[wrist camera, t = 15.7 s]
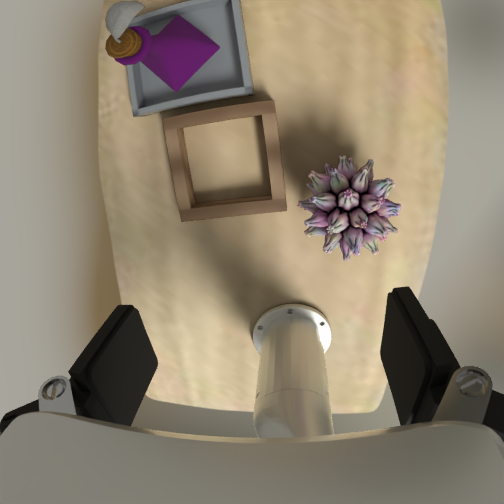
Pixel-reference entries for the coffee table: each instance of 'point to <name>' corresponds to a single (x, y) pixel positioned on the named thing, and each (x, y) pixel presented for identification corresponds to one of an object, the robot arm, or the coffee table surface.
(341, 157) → the flower
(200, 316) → the coffee table surface
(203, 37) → the perfume bottle
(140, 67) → the tray
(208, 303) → the coffee table surface
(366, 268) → the coffee table surface
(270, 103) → the square wooden frame
